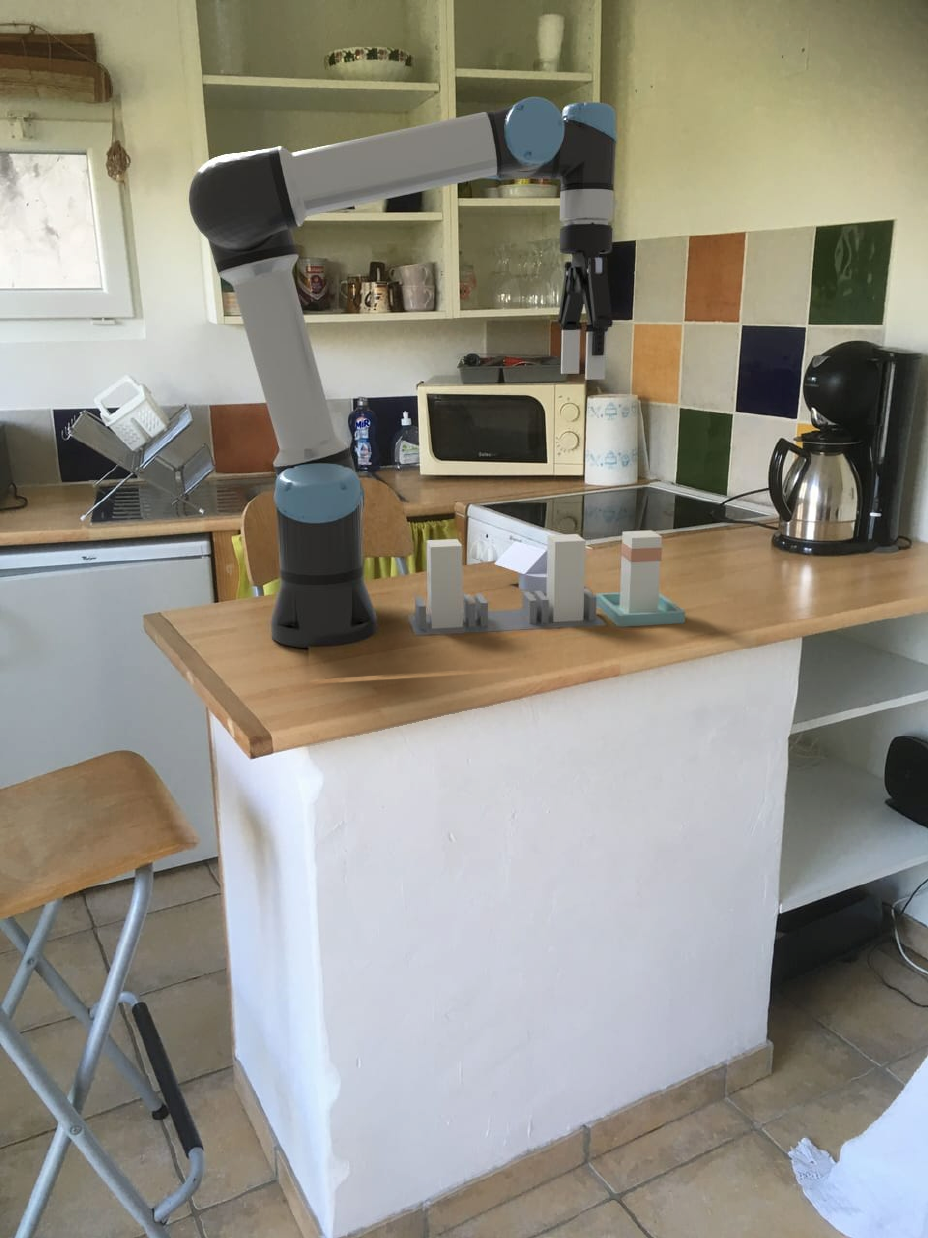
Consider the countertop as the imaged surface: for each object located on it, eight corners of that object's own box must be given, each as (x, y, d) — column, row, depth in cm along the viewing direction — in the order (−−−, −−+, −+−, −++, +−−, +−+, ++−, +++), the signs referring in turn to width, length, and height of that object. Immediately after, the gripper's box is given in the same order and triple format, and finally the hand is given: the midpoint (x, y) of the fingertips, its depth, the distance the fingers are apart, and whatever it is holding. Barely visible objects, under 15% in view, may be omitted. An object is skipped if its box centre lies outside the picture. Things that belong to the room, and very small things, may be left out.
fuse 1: (431, 628, 146) (430, 547, 143) (427, 619, 151) (426, 540, 147) (462, 626, 147) (462, 545, 144) (457, 617, 151) (457, 539, 148)
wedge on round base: (493, 583, 173) (540, 600, 162) (493, 544, 171) (541, 559, 160) (536, 575, 177) (584, 591, 167) (536, 537, 175) (585, 551, 165)
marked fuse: (628, 617, 151) (632, 538, 147) (619, 608, 155) (622, 531, 152) (658, 615, 152) (662, 536, 148) (647, 607, 156) (651, 530, 152)
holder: (415, 638, 144) (414, 611, 142) (407, 618, 153) (406, 592, 152) (606, 628, 148) (607, 601, 147) (587, 608, 157) (588, 583, 156)
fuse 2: (553, 621, 149) (555, 541, 146) (546, 613, 154) (547, 535, 150) (583, 620, 150) (585, 540, 146) (575, 611, 154) (577, 534, 151)
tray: (618, 629, 147) (619, 615, 147) (594, 606, 159) (595, 593, 158) (684, 625, 149) (685, 612, 148) (656, 603, 160) (657, 590, 160)
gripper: (640, 216, 134) (633, 381, 141) (587, 230, 158) (583, 370, 164) (585, 216, 133) (580, 382, 139) (540, 230, 157) (537, 371, 163)
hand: (581, 376), depth 152 cm, fingers open, 13 cm apart
